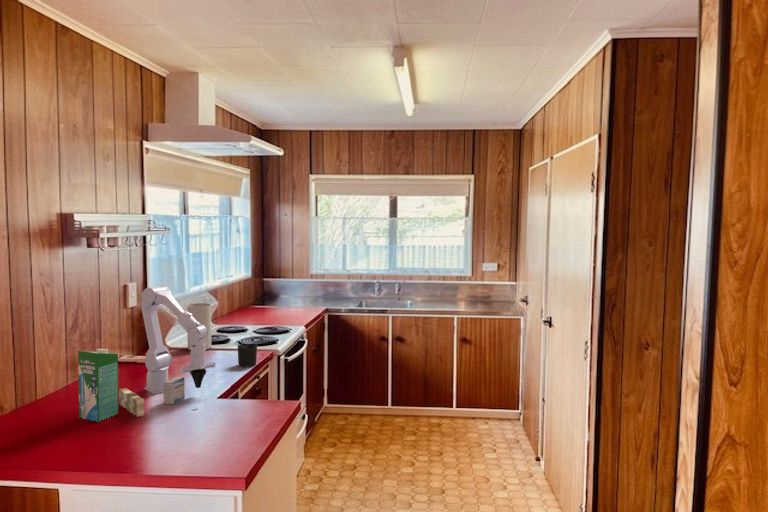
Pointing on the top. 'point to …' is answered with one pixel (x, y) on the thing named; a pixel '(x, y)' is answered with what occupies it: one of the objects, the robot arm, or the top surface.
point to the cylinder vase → (202, 319)
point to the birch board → (131, 402)
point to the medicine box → (174, 390)
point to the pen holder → (247, 354)
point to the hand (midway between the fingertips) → (197, 387)
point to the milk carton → (98, 384)
